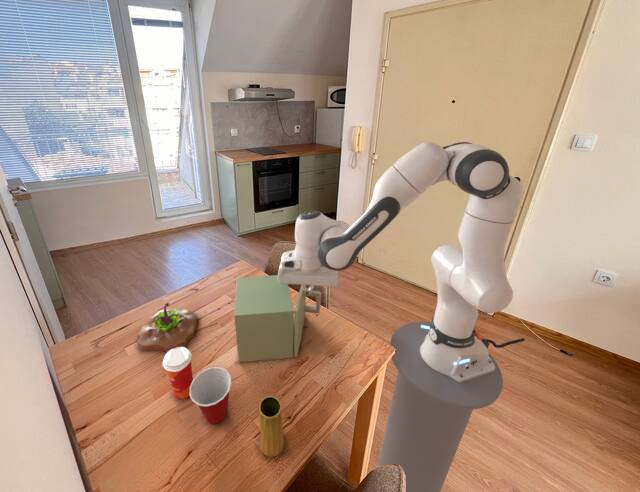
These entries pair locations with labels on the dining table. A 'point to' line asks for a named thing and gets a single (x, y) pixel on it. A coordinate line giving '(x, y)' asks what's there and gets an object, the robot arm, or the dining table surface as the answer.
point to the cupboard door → (303, 315)
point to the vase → (271, 426)
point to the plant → (168, 329)
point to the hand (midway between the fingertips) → (307, 293)
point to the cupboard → (263, 319)
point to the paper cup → (179, 371)
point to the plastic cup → (211, 393)
